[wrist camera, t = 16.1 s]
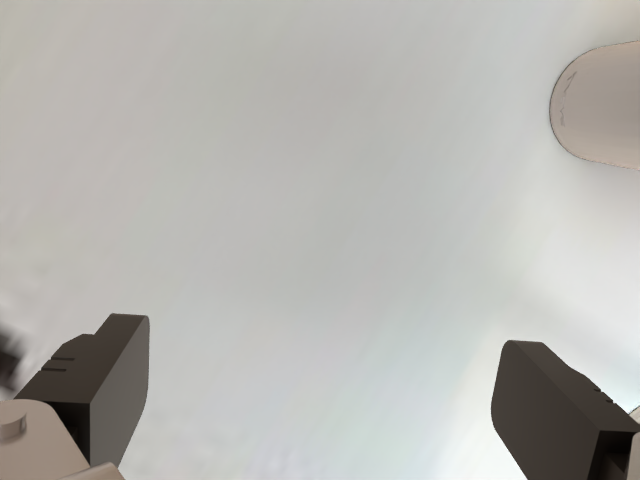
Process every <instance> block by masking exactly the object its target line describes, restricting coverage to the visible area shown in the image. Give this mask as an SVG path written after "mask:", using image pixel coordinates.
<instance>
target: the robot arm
mask: <svg viewBox="0 0 640 480" xmlns="http://www.w3.org/2000/svg"><path fill="white" fill-rule="evenodd" d="M550 117H551V124H552V127H553V130H554V133H555V135H556V137H557V139H558V140H559V142H560V144H561V145H562V146H563V147H564V148H565V149H566V150H567V151H569V152H570V153H572V154H573V155H575V156H577V157H579V158H582V159H585V160H589V161H595V162H600V163H605V164H610V165H614V166H619V167H625V168H630V169H635V170H640V41H634V42H628V43H622V44H616V45H610V46H604V47H599V48H596V49H593V50H590V51H588V52H586V53H585V54H583V55H581V56H579V57H578V58H577V59H576V60H574V61H573V62H572V63H571V64H570V65H569V66H568V67H567V68H566V70H565V71H564V72H563V73H562V75H561V76H560V78H559V80H558V82H557V84H556V86H555V88H554V92H553V95H552V98H551V106H550ZM149 333H150V325H149V318H148V316H145V315H130V314H115V313H112V314H111V315H110V316H109V317H108V318H107V319H106V321H105V322H104V323H103V324H102V326H101V327H100V328H99V329H98V331H97V332H96V333H95V334H94V335H92V334H82V335H80V336H78V337H76V338H74V339H72V340H70V341H68V342H66V343H64V344H62V346H61V347H60V348H59V349H58V350H57V351H56V352H55V353H54V354H53V356H52V357H51V360H48V361H47V362H46V363H45V364H44V366H43V367H42V368H41V371H38V372H37V373H36V374H35V376H34V377H33V378H32V379H31V380H30V381H29V382H28V383H27V384H26V386H25V387H24V388H23V389H22V390H21V391H20V392H19V393H18V394H17V396H16V397H15V398H14V399H13V400H5V401H0V480H125V479H124V478H123V476H122V475H121V473H120V472H119V470H118V466H119V464H120V462H121V460H122V457H123V455H124V453H125V451H126V448H127V446H128V444H129V442H130V439H131V437H132V435H133V433H134V430H135V428H136V426H137V424H138V421H139V419H140V417H141V415H142V412H143V410H144V406H145V402H146V397H147V391H148V373H149ZM491 416H492V422H493V425H494V428H495V430H496V432H497V433H498V435H499V436H500V438H501V439H502V441H503V443H504V444H505V446H506V447H507V449H508V450H509V452H510V453H511V455H512V456H513V458H514V459H515V461H516V462H517V464H518V466H519V467H520V469H521V470H522V472H523V473H524V475H525V476H526V478H527V479H528V480H640V425H639V424H638V423H637V422H636V421H635V420H634V419H633V418H632V417H631V416H630V415H628V414H627V413H626V412H625V411H624V410H623V409H622V408H621V407H620V406H618V405H617V404H616V403H613V400H612V399H611V398H610V397H608V396H607V395H606V394H605V393H604V392H601V389H600V388H598V387H597V386H596V385H595V384H594V383H593V382H592V381H591V380H590V379H589V378H587V377H586V376H585V375H583V374H581V373H579V372H577V371H576V370H574V369H572V368H570V367H569V366H568V365H567V364H565V363H564V362H563V361H562V360H561V359H560V358H559V357H558V356H557V355H556V354H555V353H554V352H552V351H551V350H550V349H549V348H548V347H547V346H546V345H545V344H544V343H542V342H531V341H516V340H509V341H507V342H506V343H505V344H504V346H503V349H502V352H501V357H500V362H499V367H498V372H497V377H496V382H495V387H494V392H493V397H492V402H491Z"/></svg>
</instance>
